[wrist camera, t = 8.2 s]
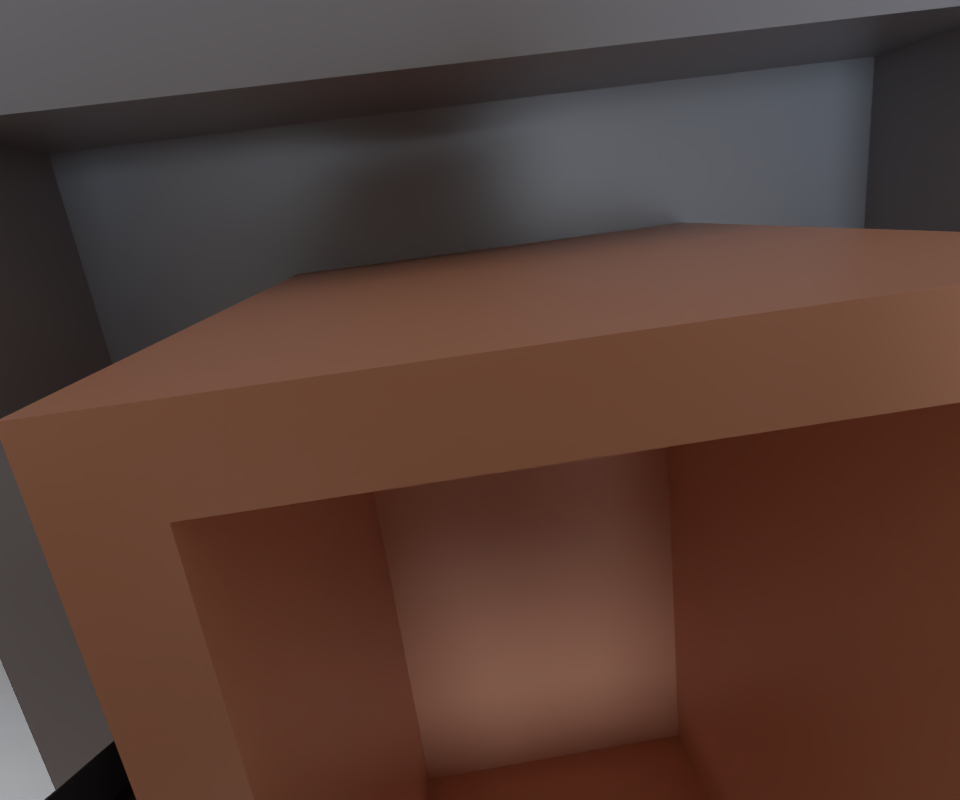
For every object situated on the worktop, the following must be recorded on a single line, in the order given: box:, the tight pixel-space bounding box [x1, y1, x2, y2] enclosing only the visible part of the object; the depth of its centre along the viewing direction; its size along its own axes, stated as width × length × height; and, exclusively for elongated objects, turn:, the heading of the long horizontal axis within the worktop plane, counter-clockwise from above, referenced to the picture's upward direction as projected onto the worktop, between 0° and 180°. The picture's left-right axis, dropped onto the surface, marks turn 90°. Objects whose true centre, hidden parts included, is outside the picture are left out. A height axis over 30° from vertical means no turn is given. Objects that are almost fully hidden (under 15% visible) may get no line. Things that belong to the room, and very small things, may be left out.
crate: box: [0, 0, 960, 790], centre depth 10 cm, size 14×16×4 cm
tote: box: [0, 223, 960, 800], centre depth 8 cm, size 6×10×7 cm, turn 7°
